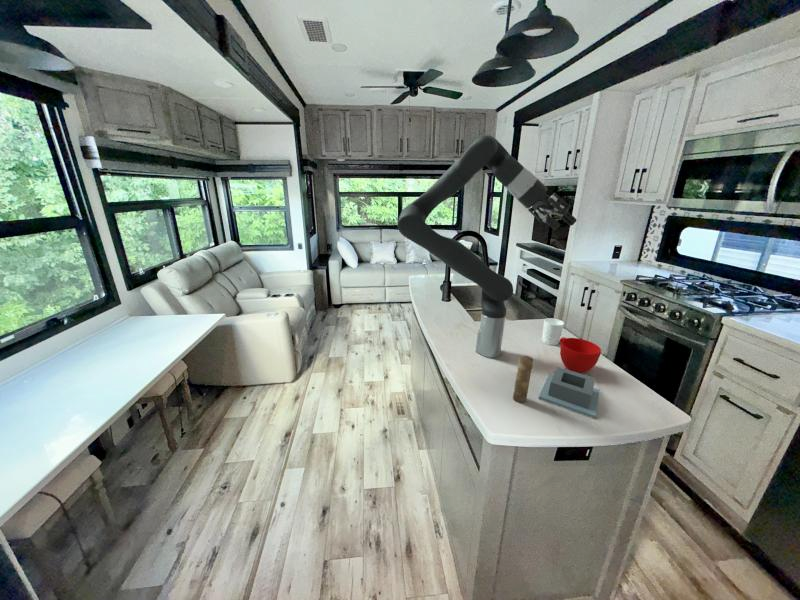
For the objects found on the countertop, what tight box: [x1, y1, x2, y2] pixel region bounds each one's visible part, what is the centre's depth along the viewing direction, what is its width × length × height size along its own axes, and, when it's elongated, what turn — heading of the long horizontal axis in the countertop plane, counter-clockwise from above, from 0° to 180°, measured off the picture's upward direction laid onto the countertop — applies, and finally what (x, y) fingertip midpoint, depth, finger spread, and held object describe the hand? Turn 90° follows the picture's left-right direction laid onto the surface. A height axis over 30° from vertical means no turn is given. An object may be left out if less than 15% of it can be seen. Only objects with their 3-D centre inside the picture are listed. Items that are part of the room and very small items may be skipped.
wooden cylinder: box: [512, 355, 535, 404], centre depth 97 cm, size 4×4×15 cm
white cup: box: [541, 317, 565, 346], centre depth 137 cm, size 8×8×10 cm
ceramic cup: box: [559, 337, 602, 374], centre depth 118 cm, size 13×17×10 cm
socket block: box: [538, 366, 601, 420], centre depth 101 cm, size 16×16×6 cm
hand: (565, 225), depth 91 cm, fingers open, 8 cm apart
